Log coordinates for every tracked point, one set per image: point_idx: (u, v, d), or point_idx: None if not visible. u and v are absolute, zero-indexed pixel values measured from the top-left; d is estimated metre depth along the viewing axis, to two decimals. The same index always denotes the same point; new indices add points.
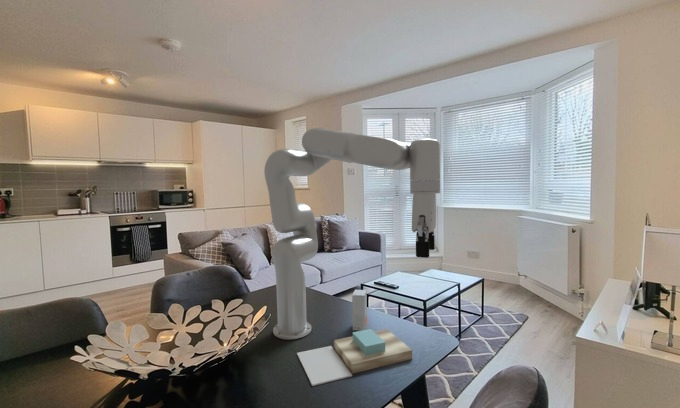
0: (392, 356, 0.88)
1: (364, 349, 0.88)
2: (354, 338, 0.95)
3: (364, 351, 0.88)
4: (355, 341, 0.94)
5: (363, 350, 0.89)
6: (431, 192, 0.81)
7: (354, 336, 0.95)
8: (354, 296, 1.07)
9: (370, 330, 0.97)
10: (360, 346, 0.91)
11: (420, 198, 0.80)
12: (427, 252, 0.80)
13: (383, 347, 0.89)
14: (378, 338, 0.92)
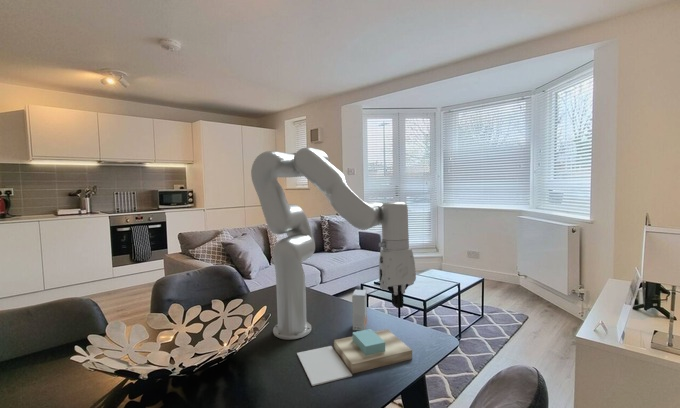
0: (392, 356, 0.88)
1: (364, 349, 0.88)
2: (354, 338, 0.95)
3: (364, 351, 0.88)
4: (355, 341, 0.94)
5: (363, 350, 0.89)
6: None
7: (354, 336, 0.95)
8: (354, 296, 1.07)
9: (370, 330, 0.97)
10: (360, 346, 0.91)
11: None
12: None
13: (383, 347, 0.89)
14: (378, 338, 0.92)
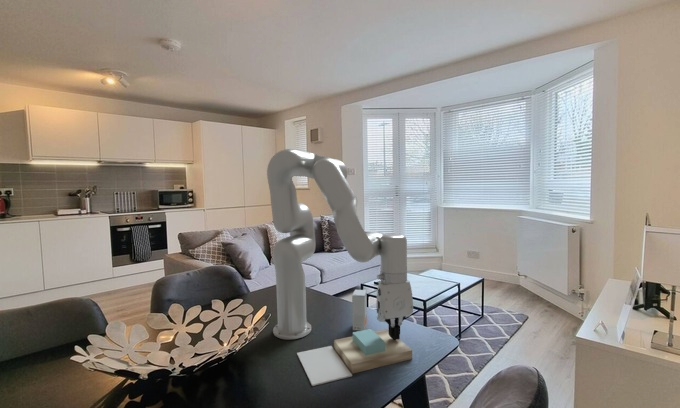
0: (392, 356, 0.88)
1: (364, 349, 0.88)
2: (354, 338, 0.95)
3: (364, 351, 0.88)
4: (355, 341, 0.94)
5: (363, 350, 0.89)
6: None
7: (354, 336, 0.95)
8: (354, 296, 1.07)
9: (370, 330, 0.97)
10: (360, 346, 0.91)
11: None
12: None
13: (383, 347, 0.89)
14: (378, 338, 0.92)
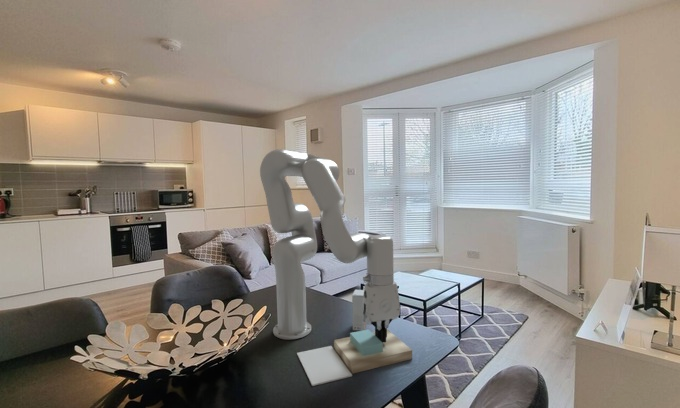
0: (392, 356, 0.88)
1: (361, 350, 0.88)
2: (352, 339, 0.94)
3: (361, 352, 0.88)
4: (353, 342, 0.94)
5: (360, 351, 0.89)
6: None
7: (352, 337, 0.94)
8: (354, 296, 1.07)
9: (368, 331, 0.96)
10: (357, 347, 0.90)
11: None
12: None
13: (380, 348, 0.89)
14: (376, 339, 0.91)
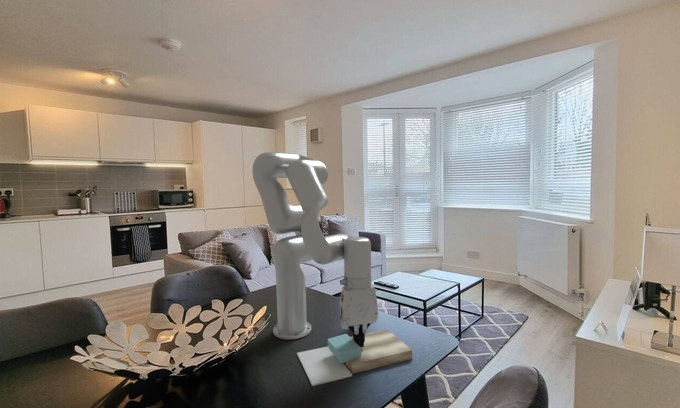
0: (392, 356, 0.88)
1: (339, 357, 0.85)
2: (329, 345, 0.91)
3: (339, 359, 0.85)
4: (330, 348, 0.91)
5: (338, 358, 0.86)
6: None
7: (329, 343, 0.91)
8: None
9: (346, 335, 0.94)
10: (335, 353, 0.87)
11: None
12: None
13: (359, 353, 0.86)
14: (353, 344, 0.89)
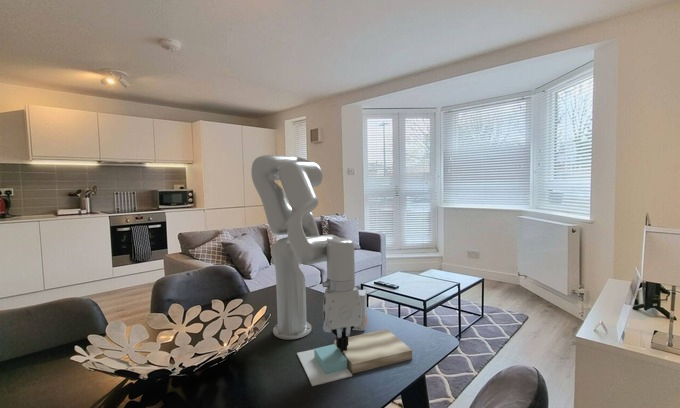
0: (392, 356, 0.88)
1: (324, 368, 0.84)
2: (315, 355, 0.90)
3: (324, 370, 0.83)
4: (316, 358, 0.89)
5: (323, 368, 0.84)
6: None
7: (315, 353, 0.90)
8: None
9: (333, 346, 0.92)
10: (321, 364, 0.86)
11: None
12: None
13: (344, 365, 0.85)
14: (340, 355, 0.87)
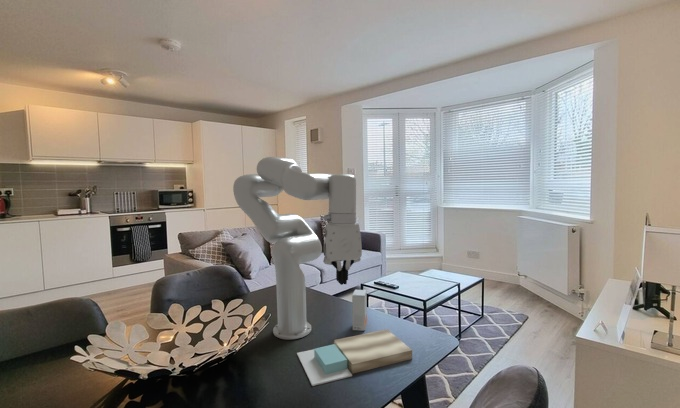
0: (392, 356, 0.88)
1: (324, 368, 0.84)
2: (315, 355, 0.90)
3: (324, 370, 0.83)
4: (316, 358, 0.89)
5: (323, 368, 0.84)
6: None
7: (315, 353, 0.90)
8: (354, 296, 1.07)
9: (333, 346, 0.92)
10: (321, 364, 0.86)
11: None
12: None
13: (344, 365, 0.85)
14: (340, 355, 0.87)
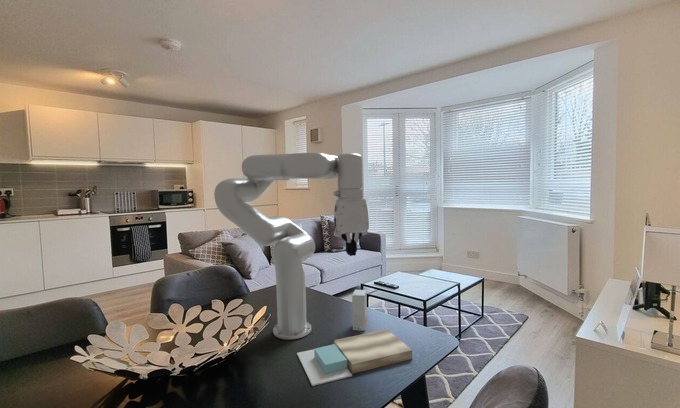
0: (392, 356, 0.88)
1: (324, 368, 0.84)
2: (315, 355, 0.90)
3: (324, 370, 0.83)
4: (316, 358, 0.89)
5: (323, 368, 0.84)
6: None
7: (315, 353, 0.90)
8: (354, 296, 1.07)
9: (333, 346, 0.92)
10: (321, 364, 0.86)
11: None
12: None
13: (344, 365, 0.85)
14: (340, 355, 0.87)
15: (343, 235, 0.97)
